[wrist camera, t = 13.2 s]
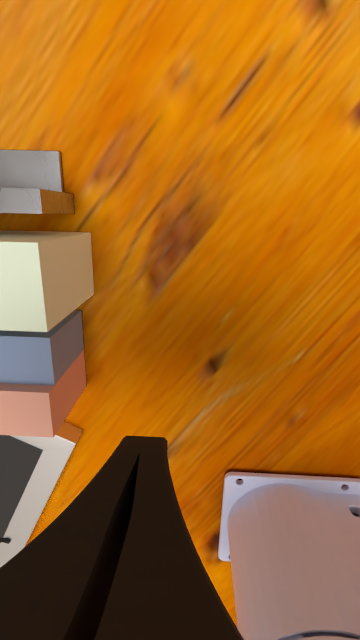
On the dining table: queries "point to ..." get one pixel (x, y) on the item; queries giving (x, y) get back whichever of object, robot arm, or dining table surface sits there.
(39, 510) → the picture frame
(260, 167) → the dining table surface
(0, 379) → the shelved books
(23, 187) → the bookend
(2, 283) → the beige rectangular block
